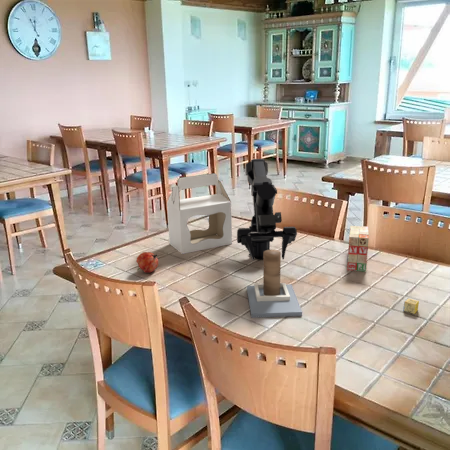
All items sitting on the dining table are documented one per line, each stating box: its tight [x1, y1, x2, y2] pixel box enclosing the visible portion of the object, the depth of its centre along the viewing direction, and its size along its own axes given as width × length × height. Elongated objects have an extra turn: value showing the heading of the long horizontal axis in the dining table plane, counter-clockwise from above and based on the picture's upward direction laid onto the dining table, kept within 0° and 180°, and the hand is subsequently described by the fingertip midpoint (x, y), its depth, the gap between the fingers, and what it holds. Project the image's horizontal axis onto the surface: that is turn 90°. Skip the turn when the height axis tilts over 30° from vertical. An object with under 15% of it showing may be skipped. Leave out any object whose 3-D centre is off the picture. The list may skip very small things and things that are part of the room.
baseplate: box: [246, 282, 303, 318], centre depth 135 cm, size 18×14×2 cm
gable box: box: [166, 172, 233, 255], centre depth 180 cm, size 22×13×28 cm, turn 118°
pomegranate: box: [136, 251, 160, 274], centre depth 158 cm, size 7×7×10 cm
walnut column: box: [262, 249, 282, 296], centre depth 136 cm, size 5×5×13 cm
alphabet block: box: [403, 298, 420, 315], centre depth 128 cm, size 3×3×3 cm
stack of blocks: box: [346, 225, 370, 272], centre depth 163 cm, size 21×6×12 cm, turn 164°
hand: (268, 259), depth 143 cm, fingers open, 9 cm apart
